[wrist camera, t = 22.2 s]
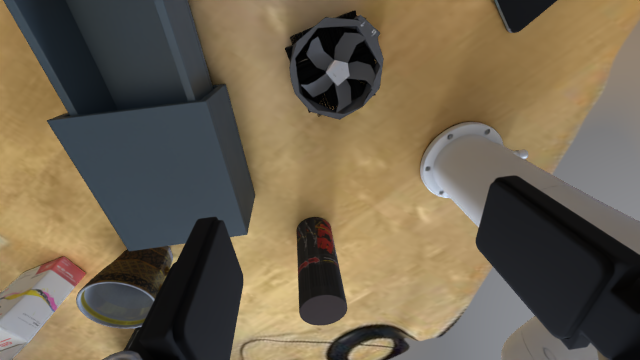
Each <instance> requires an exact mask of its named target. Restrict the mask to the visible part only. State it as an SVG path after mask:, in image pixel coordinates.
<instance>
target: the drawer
mask: <svg viewBox="0 0 640 360" xmlns="http://www.w3.org/2000/svg"><path fill="white" fill-rule="evenodd" d="M3 1H4V2H5V4H6V6H7V8H8V9H9V11H10V13H11V14H12V16H13V18H14V20H15V21H16V23H17V25H18V27H19V28H20V30H21V32H22V33H23V35H24V37H25V39H26V40H27V42H28V44H29V46H30V47H31V49H32V51H33V53H34V54H35V56H36V58H37V59H38V61H39V63H40V65H41V66H42V68H43V70H44V72H45V73H46V75H47V77H48V78H49V80H50V82H51V84H52V85H53V87H54V89H55V91H56V92H57V94H58V96H59V98H60V99H61V101H62V103H63V104H64V106H65V108H66V110H67V111H68V113H69V115H70V116H75V115H83V114H91V113H99V112H108V111H116V110H124V109H132V108H140V107H149V106H157V105H165V104H173V103H181V102H190V101H198V100H201V99H203V98H204V97H205V96H206V95H208V94H209V93H210V92H211V91H212V90H213V86H212V83H211V79H210V76H209V72H208V69H207V65H206V62H205V58H204V55H203V51H202V48H201V45H200V41H199V38H198V34H197V31H196V27H195V24H194V20H193V17H192V13H191V10H190V6H189V3H188V0H3Z"/></svg>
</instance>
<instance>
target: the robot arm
mask: <svg viewBox="0 0 640 360" xmlns="http://www.w3.org/2000/svg"><path fill="white" fill-rule="evenodd" d="M527 157H528V151H527V150H516V151H512V150H510V149H508V148H507V147H505V146H503V142H502V139H501V136H500V135H499V134H498V132H497V131H496V130H494V129H493V128H492V127H490V126H488V125H486V124H483V123H479V122H466V123H461V124H458V125H455V126H453V127H451V128H449V129H447V130H445V131H444V132H442V133H441V134H440V135H438V136H437V137H436V138H435V139H434V140H433V141H432V143H431V144H430V145H429V146H428V148H427V150H426V151H425V153H424V155H423V158H422V161H421V167H420V173H421V178H422V181H423V183H424V184H425V186H426V187H427V188H428V189H429V190H430V191H431V192H432V193H434V194H435V195H437V196H440V197H445V198H451V199H452V200H453V201H454V202H455V203H456V204H457V205H458V206H459V207H460V208H461V209H462V210H463V212H464V213H465V214H466V215H467V216H468V217H469V218H470V219H471V220H472V221H473V222H474V223H475V224H476V225H477V226H478V227H479V229H478V233H477V237H476V245H477V248H478V249H479V251H480V252H481V253H482V254H483V255H484V256H485V258H486V259H487V260H488V261H489V262H490V263H491V265H492V266H493V267H494V268H495V269H496V270H497V272H498V273H499V274H500V275H501V276H502V277H503V278H504V280H505V281H506V282H507V283H508V284H509V286H510V287H511V288H512V289H513V290H514V291H515V293H516V294H517V295H518V296H519V297H520V298H521V300H522V301H523V302H524V303H525V304H526V305H527V307H528V308H529V309H530V310H531V311H532V312H533V314H534V315H535V316H534V317H533V318H531V319H530V320H529V321H527V322H526V323H525V324H524V325H522V326H521V327H520V328H519V329H517V330H516V331H515V332H514V333H513V334H512V335H511V336H510V337H509V338H508V339H507V340H506V342H505V344H504V346H503V349H502V353H501V360H640V221H638V220H635V219H634V218H631V217H630V216H628V215H626V214H624V213H622V212H620V211H618V210H616V209H614V208H612V207H610V206H608V205H606V204H604V203H603V202H600V201H599V200H597V199H595V198H593V197H591V196H590V195H588V194H586V193H584V192H582V191H581V190H579V189H577V188H575V187H573V186H571V185H569V184H567V183H565V182H564V181H562V180H560V179H558V178H557V177H555V176H553V175H551V174H550V173H548V172H546V171H544V170H542V169H541V168H539V167H537V166H535V165H533V164H532V163H530V162H528V161H526V160H524V159H526V158H527ZM242 289H243V274H242V271H241V268H240V265H239V262H238V259H237V257H236V254H235V251H234V248H233V245H232V242H231V240H230V237H229V234H228V231H227V228H226V226H225V223H224V221H223V220H218V218H217V217H208V218H201V219H198V220H197V221H196V223H195V225H194V227H193V229H192V231H191V233H190V235H189V237H188V239H187V241H186V244H185V246H184V248H183V250H182V252H181V254H180V256H179V258H178V260H177V262H175V263H174V264H173V265H172V267H171V268H170V270H169V272H168V274H167V276H166V278H165V280H164V282H163V284H162V286H161V288H160V290H159V292H158V294H157V296H156V298H155V300H154V302H153V304H152V306H151V308H150V310H149V312H148V314H147V316H146V318H145V320H144V322H143V324H142V326H141V329H140V331H139V333H138V335H137V337H136V339H135V341H134V343H133V345H132V347H131V349H130V351H120V352H117V353H115V354H112V355H109V356H108V357H106V358H104V359H103V360H230V355H231V350H232V344H233V339H234V333H235V327H236V322H237V316H238V311H239V305H240V300H241V294H242Z"/></svg>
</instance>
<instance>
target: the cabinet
mask: <svg viewBox="0 0 640 360" xmlns="http://www.w3.org/2000/svg"><path fill="white" fill-rule="evenodd" d="M212 86H213V90H212V91H211V92H210V93H209V94H208V95H206V96H205V97H204V98H203V99H201V100H198V101H190V102H181V103H173V104H165V105H157V106H149V107H140V108H132V109H124V110H116V111H108V112H99V113H91V114H83V115H75V116H70V115H69V113H65V114H63V115H60V116H57V117H55V118H52V119H50V120H47V122H48V124H49V125H50V127H51V128H52V130H53V131H54V133H55V135H56V136H57V138H58V139H59V141H60V143H61V144H62V146H63V147H64V149H65V151H66V152H67V154H68V155H69V157H70V159H71V160H72V162H73V163H74V165H75V166H76V168H77V170H78V171H79V173H80V174H81V176H82V178H83V179H84V181H85V182H86V184H87V186H88V187H89V189H90V190H91V192H92V194H93V195H94V197H95V198H96V200H97V201H98V203H99V205H100V206H101V208H102V209H103V211H104V213H105V214H106V216H107V217H108V219H109V221H110V222H111V224H112V225H113V227H114V229H115V230H116V232H117V233H118V235H119V237H120V238H121V240H122V241H123V243H124V244H125V246H126V248H127V249H128V251H135V250H142V249H149V248H156V247H163V246H170V245H177V244H184V243H186V241H187V239H188V237H189V235H190V233H191V231H192V229H193V227H194V225H195V223H196V221H197V220H198V219H201V218H208V217H217V218H218V220H223V221H224V223H225V226H226V228H227V231H228V234H229V237H234V236H241V235H247V233H248V228H249V223H250V218H251V213H252V208H253V203H254V198H255V193H254V189H253V185H252V181H251V178H250V174H249V170H248V166H247V162H246V159H245V155H244V151H243V147H242V143H241V140H240V136H239V132H238V128H237V124H236V121H235V117H234V113H233V109H232V106H231V102H230V98H229V94H228V90H227V87H226V84H220V85H212Z"/></svg>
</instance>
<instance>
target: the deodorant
mask: <svg viewBox="0 0 640 360" xmlns="http://www.w3.org/2000/svg"><path fill="white" fill-rule="evenodd" d="M297 256H298V285H299V313H300V317H301V318H302V319H303V320H304V321H305V322H307V323H309V324H312V325H328V324H331V323H334V322H336V321H338V320H340V319H341V318H342V317H343V316H344V315H345V314H346V311H347V303H346V298H345V294H344V289H343V284H342V279H341V274H340V269H339V265H338V260H337V255H336V250H335V245H334V240H333V235H332V231H331V226H330V224H329V223H328V222H327V221H326V220H324V219H323V218H319V217H312V218H308V219H305V220H304V221H302V222H301V223H300V224H299V226H298V228H297Z"/></svg>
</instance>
